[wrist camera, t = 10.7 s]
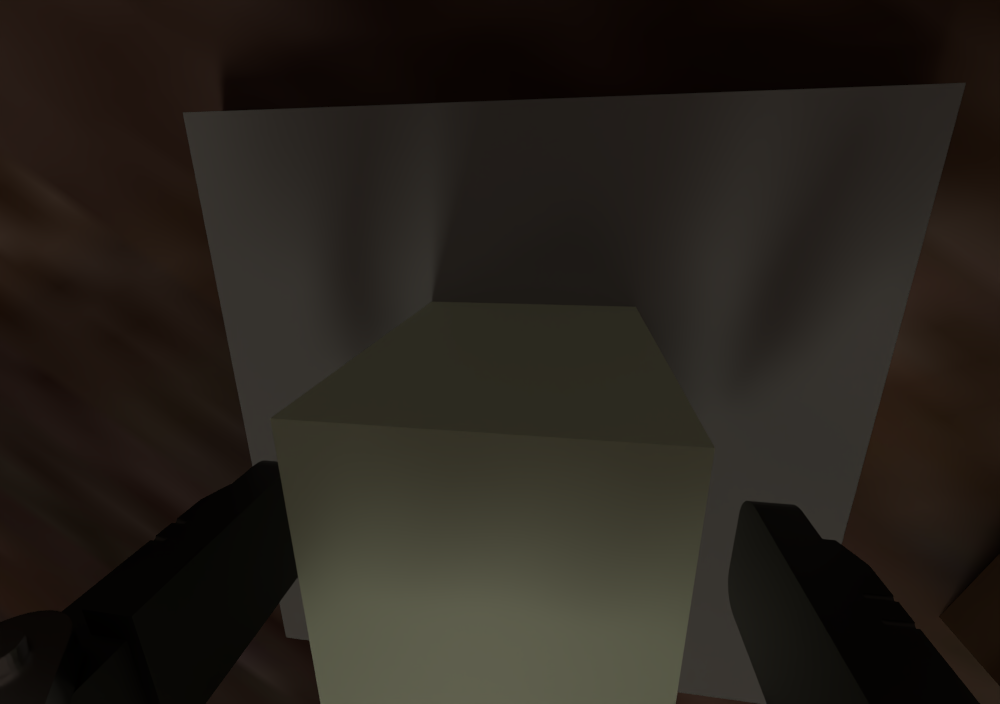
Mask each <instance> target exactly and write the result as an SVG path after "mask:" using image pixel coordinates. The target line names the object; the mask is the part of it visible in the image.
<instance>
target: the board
mask: <svg viewBox="0 0 1000 704" xmlns="http://www.w3.org/2000/svg"><path fill="white" fill-rule="evenodd" d="M965 84H966V83H949V84H923V85H897V86H870V87H844V88H818V89H791V90H765V91H739V92H712V93H686V94H660V95H633V96H607V97H581V98H554V99H528V100H502V101H475V102H449V103H423V104H396V105H370V106H344V107H317V108H291V109H265V110H238V111H212V112H186V113H183V116H184V121H185V126H186V131H187V136H188V141H189V146H190V152H191V157H192V162H193V167H194V172H195V177H196V182H197V187H198V192H199V197H200V202H201V207H202V212H203V217H204V223H205V228H206V233H207V238H208V243H209V248H210V253H211V258H212V263H213V268H214V273H215V278H216V283H217V288H218V294H219V299H220V304H221V309H222V314H223V319H224V324H225V329H226V334H227V339H228V344H229V349H230V354H231V359H232V365H233V370H234V375H235V380H236V385H237V390H238V395H239V400H240V405H241V410H242V415H243V420H244V425H245V430H246V436H247V441H248V446H249V451H250V456H251V461H252V466H254V465H255V464H257V463H258V462H260V461H263V460H267V461H278V460H277V455H276V449H275V444H274V438H273V432H272V427H271V421H270V418H271V417H273V416H274V415H276V414H277V413H278V412H280V411H281V410H283V409H284V408H285V407H287V406H288V405H289V404H291V403H292V402H294V401H295V400H296V399H298V398H299V397H300V396H302V395H303V394H305V393H306V392H307V391H309V390H310V389H312V388H313V387H314V386H316V385H317V384H318V383H320V382H321V381H323V380H324V379H325V378H327V377H328V376H330V375H331V374H332V373H334V372H335V371H336V370H338V369H339V368H341V367H342V366H343V365H345V364H346V363H347V362H349V361H350V360H352V359H353V358H354V357H356V356H357V355H359V354H360V353H361V352H363V351H364V350H365V349H367V348H368V347H370V346H371V345H372V344H374V343H375V342H377V341H378V340H379V339H381V338H382V337H383V336H385V335H386V334H388V333H389V332H390V331H392V330H393V329H394V328H396V327H397V326H399V325H400V324H401V323H403V322H404V321H406V320H407V319H408V318H410V317H411V316H412V315H414V314H415V313H417V312H418V311H419V310H421V309H422V308H424V307H425V306H426V305H428V304H429V303H430V302H470V303H509V304H549V305H588V306H627V307H636V308H637V310H638V312H639V313H640V315H641V317H642V319H643V321H644V322H645V324H646V326H647V328H648V329H649V331H650V333H651V335H652V337H653V338H654V340H655V342H656V344H657V346H658V347H659V349H660V351H661V353H662V354H663V356H664V358H665V360H666V362H667V363H668V365H669V367H670V369H671V370H672V372H673V374H674V376H675V378H676V379H677V381H678V383H679V385H680V387H681V388H682V390H683V392H684V394H685V395H686V397H687V399H688V401H689V403H690V404H691V406H692V408H693V410H694V412H695V413H696V415H697V417H698V419H699V420H700V422H701V424H702V426H703V428H704V429H705V431H706V433H707V435H708V437H709V438H710V440H711V442H712V444H713V445H714V447H715V451H714V458H713V464H712V471H711V477H710V484H709V490H708V497H707V503H706V510H705V516H704V523H703V529H702V536H701V542H700V549H699V555H698V562H697V568H696V575H695V581H694V587H693V594H692V600H691V607H690V613H689V620H688V626H687V633H686V639H685V646H684V652H683V659H682V665H681V672H680V678H679V685H678V691H677V692H681V693H688V694H695V695H702V696H710V697H717V698H724V699H731V700H738V701H745V702H752V703H760V704H767V703H766V701H765V698H764V695H763V693H762V690H761V687H760V685H759V682H758V680H757V677H756V674H755V672H754V669H753V666H752V664H751V661H750V658H749V656H748V653H747V651H746V648H745V645H744V643H743V640H742V637H741V635H740V632H739V629H738V627H737V624H736V622H735V619H734V616H733V613H732V610H731V606H730V601H729V594H728V573H729V567H730V561H731V556H732V550H733V545H734V539H735V534H736V528H737V523H738V517H739V512H740V509H741V506H742V504H743V503H744V502H745V501H756V502H768V503H781V504H793V505H796V506H798V507H799V508H800V509H801V510H802V511H803V513H804V514H805V516H806V517H807V518H808V520H809V521H810V523H811V524H812V525H813V527H814V528H815V529H816V531H817V532H818V534H819V535H820V536H821V538H822V539H828V540H836V541H837V542H839V543H840V544H842V540H843V536H844V533H845V529H846V525H847V522H848V518H849V514H850V511H851V507H852V503H853V499H854V496H855V492H856V488H857V485H858V481H859V477H860V473H861V470H862V466H863V462H864V459H865V455H866V451H867V447H868V444H869V440H870V436H871V433H872V429H873V425H874V422H875V418H876V414H877V410H878V407H879V403H880V399H881V396H882V392H883V388H884V384H885V381H886V377H887V373H888V370H889V366H890V362H891V359H892V355H893V351H894V347H895V344H896V340H897V336H898V333H899V329H900V325H901V321H902V318H903V314H904V310H905V307H906V303H907V299H908V295H909V292H910V288H911V284H912V281H913V277H914V273H915V270H916V266H917V262H918V258H919V255H920V251H921V247H922V244H923V240H924V236H925V232H926V229H927V225H928V221H929V218H930V214H931V210H932V206H933V203H934V199H935V195H936V192H937V188H938V184H939V181H940V177H941V173H942V169H943V166H944V162H945V158H946V155H947V151H948V147H949V143H950V140H951V136H952V132H953V129H954V125H955V121H956V118H957V114H958V110H959V106H960V103H961V99H962V95H963V92H964V88H965ZM279 603H280V608H281V613H282V618H283V623H284V628H285V633H286V637H289V638H296V639H303V640H309V635H308V629H307V624H306V618H305V612H304V607H303V601H302V596H301V590H300V584H299V579H298V578H297V579H296V580H295V582H294V583H293V585H292V586H291V587H290V589H289V590H288V591H287V593H286V594H285V595H284V597H283V598H282V600H281V601H280V602H279Z"/></svg>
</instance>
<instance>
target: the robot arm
mask: <svg viewBox="0 0 1000 704" xmlns="http://www.w3.org/2000/svg"><path fill="white" fill-rule="evenodd" d="M297 578H298V573H297V567H296V562H295V556H294V551H293V545H292V539H291V534H290V528H289V522H288V517H287V511H286V506H285V500H284V494H283V489H282V483H281V477H280V472H279V466H278V461H267V460H263V461H260V462H258V463H257V464H255V465H254V466H253V467H252V468H250V469H249V470H248V471H247V472H246V473H244V474H243V475H242V476H241V477H240V478H238V479H237V480H236V481H235V482H234V483H232V484H230V485H228V486H226V487H224V488H222V489H220V490H218V491H217V492H215V493H213V494H211V495H209V496H207V497H205V498H203V499H201V500H200V501H198V502H197V503H196V504H195V505H194V506H192V507H191V508H190V509H189V510H187V511H186V512H185V513H184V514H182V515H181V516H180V517H179V518H177V521H176V523H171V524H170V525H169V526H167V527H166V528H165V529H164V530H162V531H161V532H160V533H159V534H158V535H156V538H155V540H154V541H152V540H150V541H149V542H148V543H146V544H145V545H144V546H143V547H141V548H140V549H139V550H138V551H136V552H135V553H134V554H133V555H131V556H130V557H129V558H128V559H127V560H125V561H124V562H123V563H122V564H120V565H119V566H118V567H117V568H115V569H114V570H113V571H112V572H110V573H109V574H108V575H107V576H105V577H104V578H103V579H102V580H100V581H99V582H98V583H97V584H96V585H94V586H93V587H92V588H91V589H89V590H88V591H87V592H86V593H84V594H83V595H82V596H81V597H79V598H78V599H77V600H76V601H74V602H73V603H72V604H71V605H69V606H68V607H67V608H66V609H64V610H63V611H62V612H60V611H53V610H45V611H36V612H30V613H26V614H23V615H19V616H16V617H13V618H10V619H7V620H4V621H2V622H0V704H206V702H207V701H208V699H209V698H210V697H211V695H212V694H213V693H214V691H215V690H216V689H217V687H218V686H219V684H220V683H221V682H222V680H223V679H224V678H225V676H226V675H227V673H228V672H229V671H230V669H231V668H232V667H233V665H234V664H235V663H236V661H237V660H238V658H239V657H240V656H241V654H242V653H243V652H244V650H245V649H246V647H247V646H248V645H249V643H250V642H251V641H252V639H253V638H254V637H255V635H256V634H257V632H258V631H259V630H260V628H261V627H262V626H263V624H264V623H265V621H266V620H267V619H268V617H269V616H270V615H271V613H272V612H273V611H274V609H275V608H276V606H277V605H278V604H279V602H280V601H281V600H282V598H283V597H284V595H285V594H286V593H287V591H288V590H289V589H290V587H291V586H292V585H293V583H294V582H295V580H296V579H297ZM728 594H729V601H730V606H731V610H732V613H733V616H734V619H735V622H736V624H737V627H738V629H739V632H740V635H741V637H742V640H743V643H744V645H745V648H746V651H747V653H748V656H749V658H750V661H751V664H752V666H753V669H754V672H755V674H756V677H757V680H758V682H759V685H760V687H761V690H762V693H763V695H764V698H765V701H766V703H767V704H980V703H979V702H978V701H977V700H976V698H975V697H974V696H973V695H972V693H971V692H970V691H969V690H968V688H967V687H966V686H965V685H964V683H963V682H962V681H961V680H960V678H959V677H958V676H957V675H956V673H955V672H954V671H953V670H952V668H951V667H950V666H949V665H948V663H947V662H946V661H945V660H944V658H943V657H942V656H941V655H940V653H939V652H938V651H937V650H936V648H935V647H934V646H933V645H932V643H931V642H930V641H929V640H928V638H927V637H926V636H925V635H924V633H923V632H922V631H921V630H920V629H916V628H915V622H914V621H913V620H912V618H911V617H910V616H909V615H908V613H907V612H906V611H905V610H904V608H903V607H902V606H901V605H900V603H899V602H895V601H894V599H893V595H892V593H891V592H890V591H889V590H888V588H887V587H886V586H885V585H884V583H883V582H882V581H881V580H880V578H879V577H878V576H877V575H876V573H875V572H874V571H873V570H872V568H871V567H870V566H869V565H868V564H866V563H865V562H864V561H862V560H861V559H860V558H858V557H857V556H856V555H854V554H853V553H852V552H850V551H849V550H848V549H846V548H845V547H844V546H843V545H841V544H840V543H839V542H837V541H836V540H828V539H822V538H821V536H820V535H819V534H818V532H817V531H816V529H815V528H814V527H813V525H812V524H811V523H810V521H809V520H808V518H807V517H806V516H805V514H804V513H803V511H802V510H801V509H800V508H799V507H798V506H796V505H793V504H781V503H768V502H756V501H745V502H744V503H743V504H742V506H741V509H740V512H739V517H738V523H737V528H736V534H735V539H734V545H733V550H732V556H731V561H730V567H729V573H728Z"/></svg>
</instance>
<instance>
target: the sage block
mask: <svg viewBox="0 0 1000 704" xmlns="http://www.w3.org/2000/svg"><path fill="white" fill-rule="evenodd" d="M270 421H271V427H272V432H273V438H274V444H275V449H276V455H277V460H278V466H279V472H280V477H281V483H282V489H283V494H284V500H285V506H286V511H287V517H288V522H289V528H290V534H291V539H292V545H293V551H294V556H295V562H296V567H297V573H298V579H299V584H300V590H301V596H302V601H303V607H304V612H305V618H306V624H307V629H308V635H309V641H310V646H311V652H312V657H313V663H314V669H315V674H316V680H317V686H318V691H319V697H320V703H321V704H676V698H677V691H678V685H679V678H680V672H681V665H682V659H683V652H684V646H685V639H686V633H687V626H688V620H689V613H690V607H691V600H692V594H693V587H694V581H695V575H696V568H697V562H698V555H699V549H700V542H701V536H702V529H703V523H704V516H705V510H706V503H707V497H708V490H709V484H710V477H711V471H712V464H713V458H714V451H715V447H714V445H713V444H712V442H711V440H710V438H709V437H708V435H707V433H706V431H705V429H704V428H703V426H702V424H701V422H700V420H699V419H698V417H697V415H696V413H695V412H694V410H693V408H692V406H691V404H690V403H689V401H688V399H687V397H686V395H685V394H684V392H683V390H682V388H681V387H680V385H679V383H678V381H677V379H676V378H675V376H674V374H673V372H672V370H671V369H670V367H669V365H668V363H667V362H666V360H665V358H664V356H663V354H662V353H661V351H660V349H659V347H658V346H657V344H656V342H655V340H654V338H653V337H652V335H651V333H650V331H649V329H648V328H647V326H646V324H645V322H644V321H643V319H642V317H641V315H640V313H639V312H638V310H637V308H636V307H627V306H588V305H549V304H509V303H470V302H430V303H429V304H428V305H426V306H425V307H424V308H422V309H421V310H419V311H418V312H417V313H415V314H414V315H412V316H411V317H410V318H408V319H407V320H406V321H404V322H403V323H401V324H400V325H399V326H397V327H396V328H394V329H393V330H392V331H390V332H389V333H388V334H386V335H385V336H383V337H382V338H381V339H379V340H378V341H377V342H375V343H374V344H372V345H371V346H370V347H368V348H367V349H365V350H364V351H363V352H361V353H360V354H359V355H357V356H356V357H354V358H353V359H352V360H350V361H349V362H347V363H346V364H345V365H343V366H342V367H341V368H339V369H338V370H336V371H335V372H334V373H332V374H331V375H330V376H328V377H327V378H325V379H324V380H323V381H321V382H320V383H318V384H317V385H316V386H314V387H313V388H312V389H310V390H309V391H307V392H306V393H305V394H303V395H302V396H300V397H299V398H298V399H296V400H295V401H294V402H292V403H291V404H289V405H288V406H287V407H285V408H284V409H283V410H281V411H280V412H278V413H277V414H276V415H274V416H273V417H271V418H270Z"/></svg>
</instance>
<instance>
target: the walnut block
mask: <svg viewBox="0 0 1000 704" xmlns="http://www.w3.org/2000/svg"><path fill="white" fill-rule="evenodd" d="M939 617H940V618H941V619H942V621H943V622H944V623H945V624H946V625H947V626H948V627H949V629H950V630H951V631H952V632H953V633H954V634H955V635H956V637H957V638H958V639H959V640H960V641H961V642H962V643H963V645H964V646H965V647H966V648H967V649H968V650H969V651H970V653H971V654H972V655H973V656H974V657H975V658H976V659H977V661H978V662H979V663H980V664H981V665H982V666H983V667H984V669H985V670H986V671H987V672H988V673H989V674H990V675H991V677H992V678H993V679H994V680H995V681H996V682H997V683H998V685H999V686H1000V554H999V555H998V556H997V557H996V558H995V559H994V560H993V561H992V562H991V563H990V564H989V565H988V566H987V567H986V568H985V569H984V571H983V572H982V573H981V574H980V575H979V576H978V577H977V578H976V579H975V580H974V581H973V582H972V583H971V584H970V585H969V586H968V587H967V588H966V589H965V590H964V591H963V592H962V593H961V595H960V596H959V597H958V598H957V599H956V600H955V601H954V602H953V603H952V604H951V605H950V606H949V607H948V608H947V609H946V610H945V611H944V612H943V613H942V614H941V615H940V616H939Z"/></svg>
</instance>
